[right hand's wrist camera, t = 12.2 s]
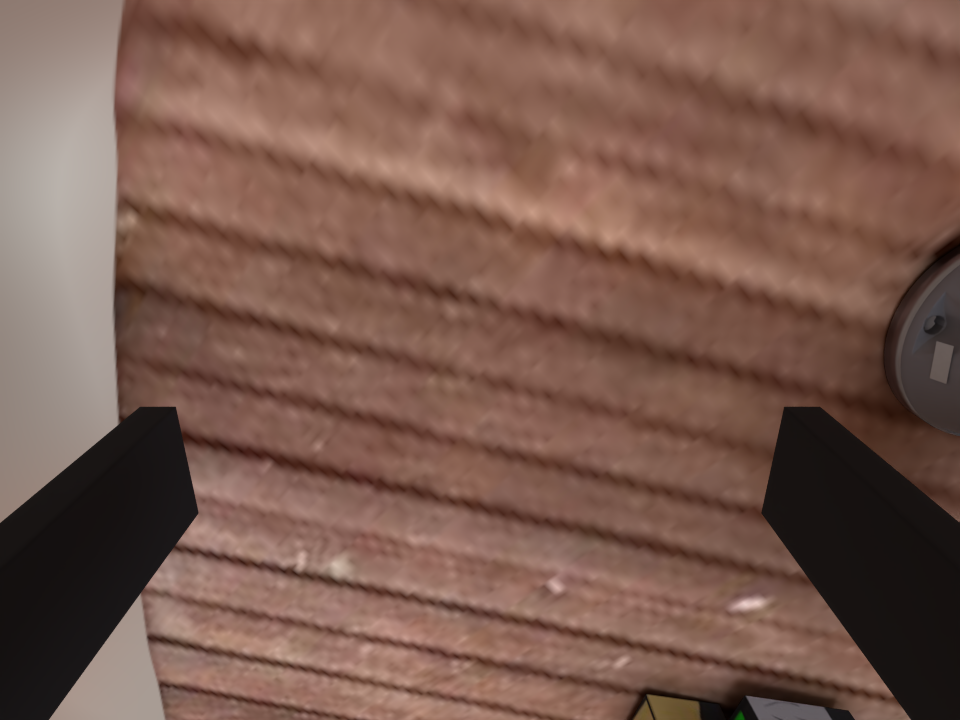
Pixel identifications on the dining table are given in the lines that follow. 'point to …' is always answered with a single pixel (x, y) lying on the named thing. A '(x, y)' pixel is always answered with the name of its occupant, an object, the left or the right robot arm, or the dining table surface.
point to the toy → (752, 716)
